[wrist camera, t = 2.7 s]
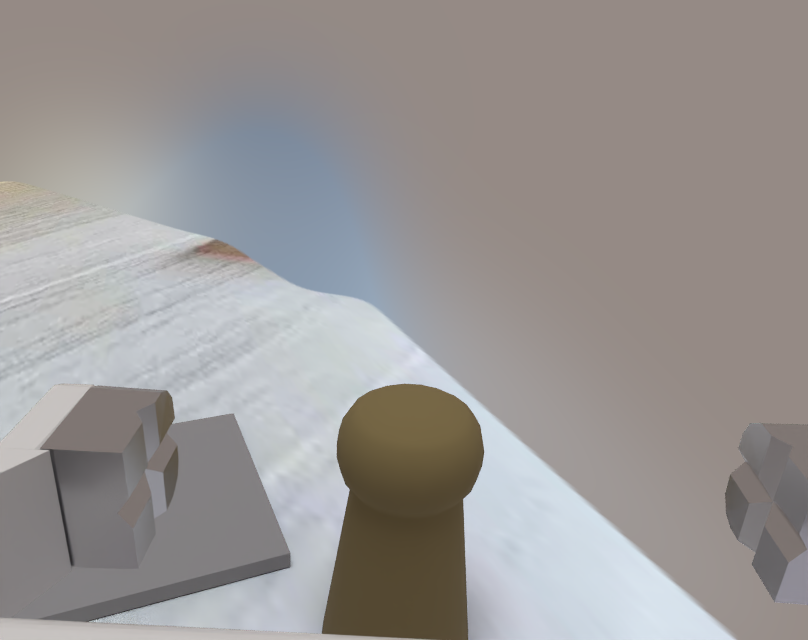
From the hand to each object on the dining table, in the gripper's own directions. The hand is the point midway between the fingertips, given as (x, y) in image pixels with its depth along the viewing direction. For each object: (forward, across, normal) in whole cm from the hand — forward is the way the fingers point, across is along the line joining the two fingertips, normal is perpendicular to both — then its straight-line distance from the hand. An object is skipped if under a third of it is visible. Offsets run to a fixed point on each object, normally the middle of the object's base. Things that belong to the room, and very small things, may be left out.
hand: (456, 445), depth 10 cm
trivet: (+19, +13, +18) cm, 29 cm away
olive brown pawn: (+12, 0, +18) cm, 22 cm away
